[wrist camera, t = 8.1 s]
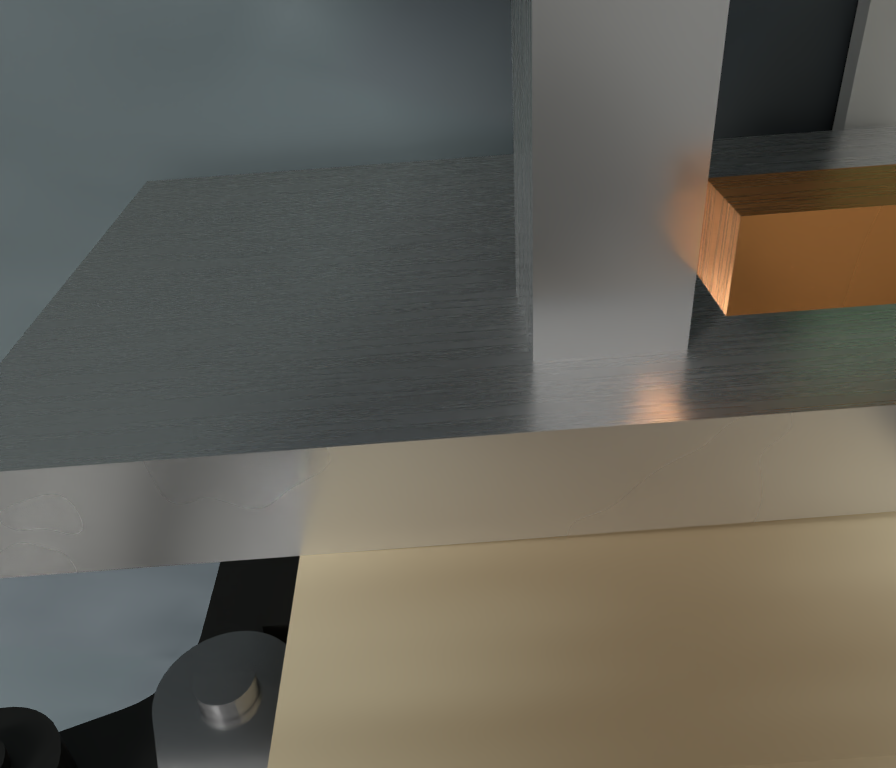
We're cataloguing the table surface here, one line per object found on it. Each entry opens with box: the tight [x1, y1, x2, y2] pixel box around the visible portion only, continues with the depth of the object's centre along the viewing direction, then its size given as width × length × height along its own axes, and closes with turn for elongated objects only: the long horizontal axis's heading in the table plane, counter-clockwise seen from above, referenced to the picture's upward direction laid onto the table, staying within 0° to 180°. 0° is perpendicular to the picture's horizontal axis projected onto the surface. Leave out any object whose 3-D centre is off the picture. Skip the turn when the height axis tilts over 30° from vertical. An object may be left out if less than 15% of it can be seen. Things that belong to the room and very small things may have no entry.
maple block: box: [267, 511, 896, 768], centre depth 9 cm, size 5×5×7 cm
